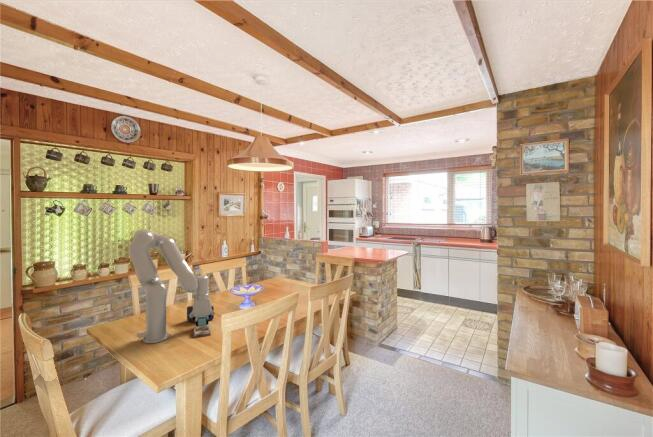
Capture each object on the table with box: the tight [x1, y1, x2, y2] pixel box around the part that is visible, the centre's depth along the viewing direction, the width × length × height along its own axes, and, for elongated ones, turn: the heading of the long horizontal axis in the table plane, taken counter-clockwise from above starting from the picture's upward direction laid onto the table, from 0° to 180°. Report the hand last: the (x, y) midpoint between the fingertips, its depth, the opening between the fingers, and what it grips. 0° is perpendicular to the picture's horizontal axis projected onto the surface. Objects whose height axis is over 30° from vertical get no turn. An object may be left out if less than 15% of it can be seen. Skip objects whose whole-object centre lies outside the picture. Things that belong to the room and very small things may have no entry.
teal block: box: [198, 316, 206, 327], centre depth 174 cm, size 4×4×6 cm
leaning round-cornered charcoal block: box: [186, 305, 215, 323], centre depth 184 cm, size 16×5×9 cm, turn 98°
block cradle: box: [192, 324, 211, 338], centre depth 166 cm, size 9×9×2 cm
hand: (202, 326), depth 174 cm, fingers closed on teal block, 4 cm apart
